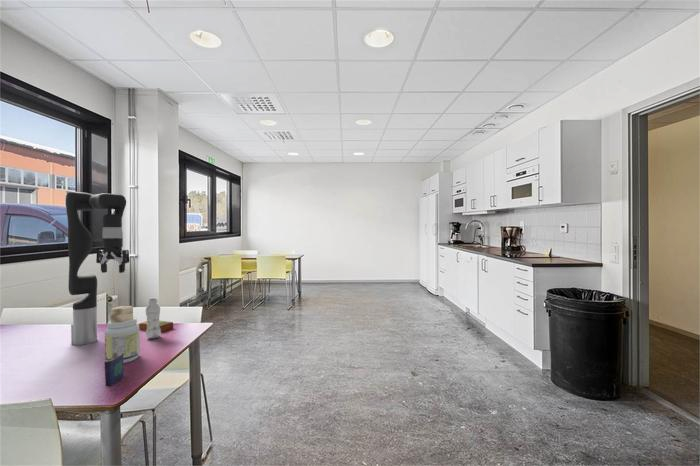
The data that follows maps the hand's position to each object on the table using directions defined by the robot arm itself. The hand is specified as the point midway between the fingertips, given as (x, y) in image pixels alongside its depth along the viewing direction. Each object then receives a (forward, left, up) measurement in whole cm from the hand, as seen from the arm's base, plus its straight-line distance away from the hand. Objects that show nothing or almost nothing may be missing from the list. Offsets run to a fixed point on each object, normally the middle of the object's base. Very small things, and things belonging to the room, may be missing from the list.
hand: (113, 272), depth 147 cm
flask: (+25, -28, -36) cm, 52 cm away
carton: (-3, +32, -37) cm, 49 cm away
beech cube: (+12, -9, -19) cm, 24 cm away
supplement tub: (+12, -9, -36) cm, 39 cm away
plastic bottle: (+6, +18, -36) cm, 41 cm away
